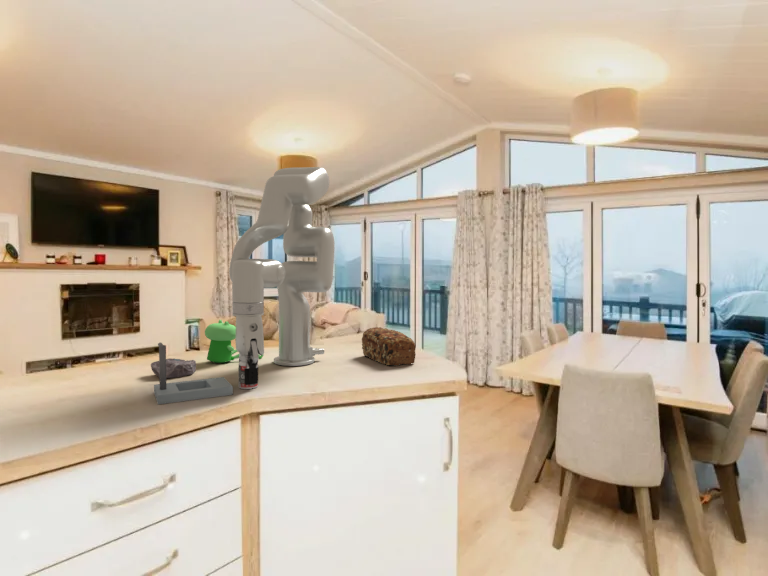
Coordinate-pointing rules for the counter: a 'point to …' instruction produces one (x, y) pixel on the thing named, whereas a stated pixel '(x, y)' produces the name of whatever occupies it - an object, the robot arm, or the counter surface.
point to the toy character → (221, 342)
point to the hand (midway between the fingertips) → (248, 380)
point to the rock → (175, 367)
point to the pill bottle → (241, 374)
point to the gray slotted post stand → (187, 386)
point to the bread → (388, 346)
